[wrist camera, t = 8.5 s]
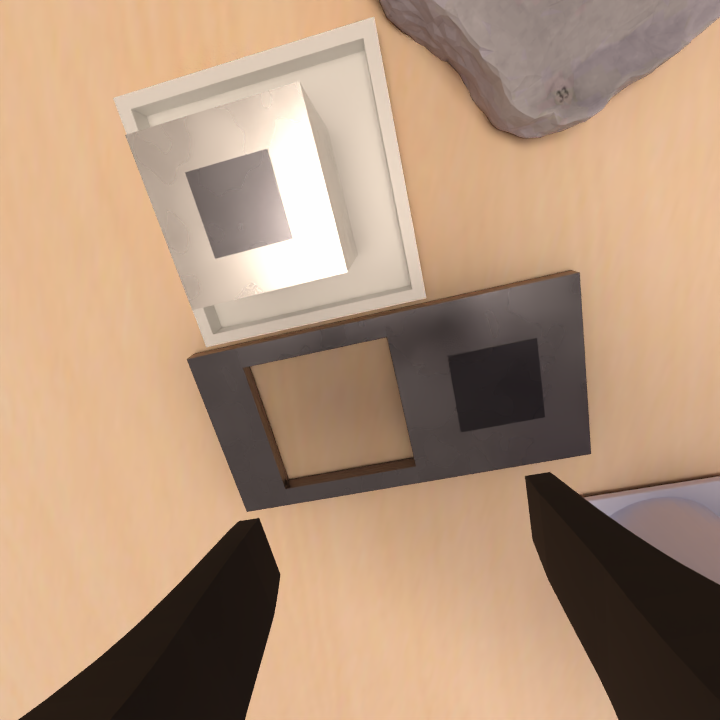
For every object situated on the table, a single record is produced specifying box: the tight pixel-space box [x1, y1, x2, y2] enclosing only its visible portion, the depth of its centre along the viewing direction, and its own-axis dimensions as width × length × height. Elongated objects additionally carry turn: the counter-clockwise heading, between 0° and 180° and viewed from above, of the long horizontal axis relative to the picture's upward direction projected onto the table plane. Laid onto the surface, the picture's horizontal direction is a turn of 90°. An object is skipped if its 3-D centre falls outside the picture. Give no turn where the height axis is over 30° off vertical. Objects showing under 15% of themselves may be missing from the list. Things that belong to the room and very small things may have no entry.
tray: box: [113, 17, 426, 347], centre depth 17 cm, size 10×10×2 cm
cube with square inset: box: [125, 81, 358, 310], centre depth 14 cm, size 5×5×6 cm
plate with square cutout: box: [187, 270, 591, 512], centre depth 20 cm, size 9×18×1 cm, turn 104°
